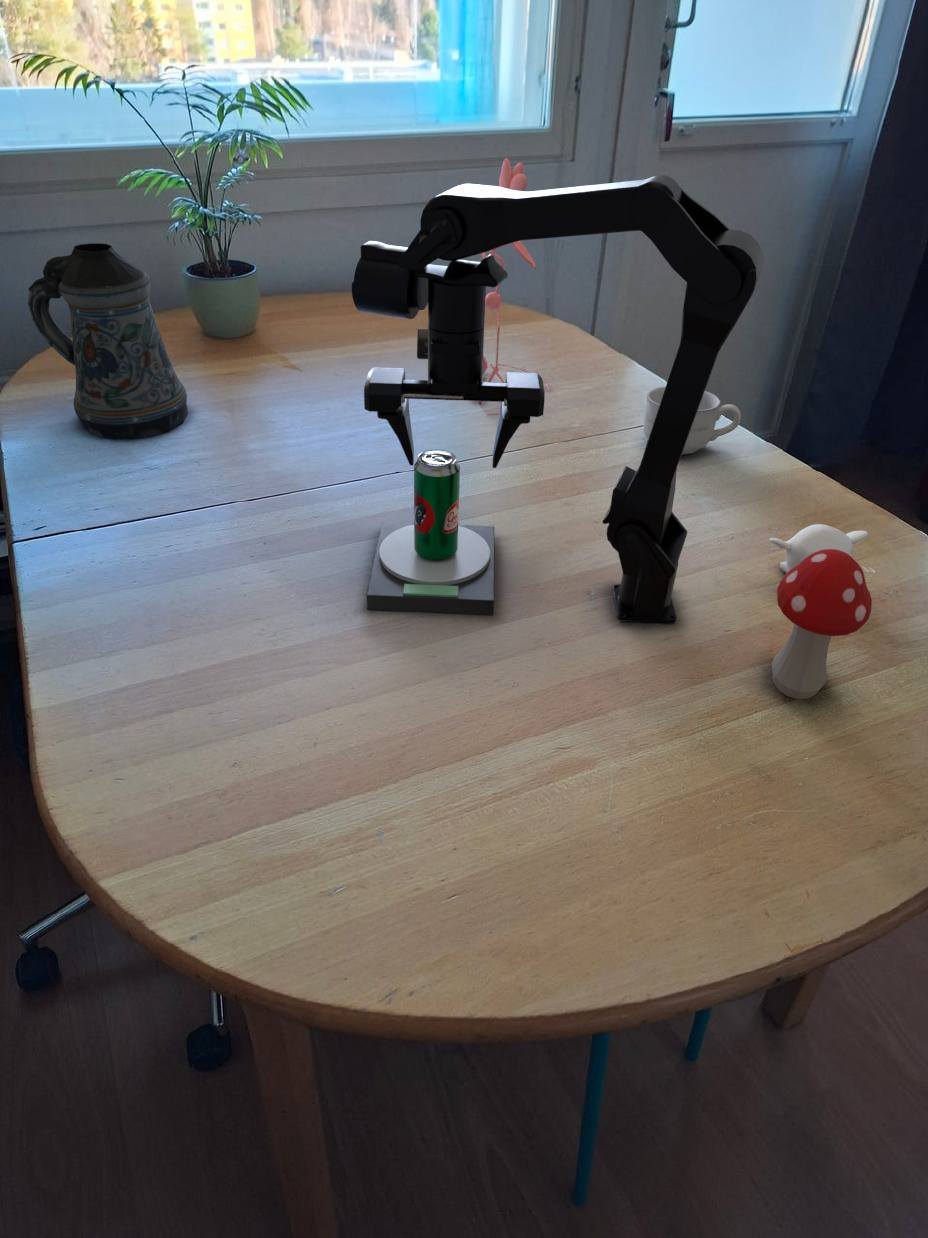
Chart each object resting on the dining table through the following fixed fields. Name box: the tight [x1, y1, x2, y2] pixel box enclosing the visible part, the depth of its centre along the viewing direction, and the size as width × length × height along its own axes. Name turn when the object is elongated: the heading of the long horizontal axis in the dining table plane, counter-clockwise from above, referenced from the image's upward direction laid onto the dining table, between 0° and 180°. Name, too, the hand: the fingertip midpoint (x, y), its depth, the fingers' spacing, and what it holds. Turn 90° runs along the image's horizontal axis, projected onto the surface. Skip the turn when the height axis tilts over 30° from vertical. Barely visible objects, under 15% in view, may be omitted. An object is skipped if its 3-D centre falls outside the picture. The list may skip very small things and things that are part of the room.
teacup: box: [643, 386, 742, 455], centre depth 130 cm, size 14×11×8 cm
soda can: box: [413, 449, 461, 561], centre depth 98 cm, size 5×5×12 cm
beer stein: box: [27, 242, 189, 440], centre depth 127 cm, size 16×19×25 cm
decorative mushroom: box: [771, 549, 873, 700], centre depth 85 cm, size 10×9×15 cm
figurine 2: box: [768, 523, 876, 574], centre depth 101 cm, size 12×8×10 cm
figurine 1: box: [477, 157, 550, 416], centre depth 139 cm, size 15×26×35 cm, turn 21°
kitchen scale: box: [366, 521, 495, 616], centre depth 102 cm, size 16×14×3 cm
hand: (453, 465), depth 97 cm, fingers open, 9 cm apart
